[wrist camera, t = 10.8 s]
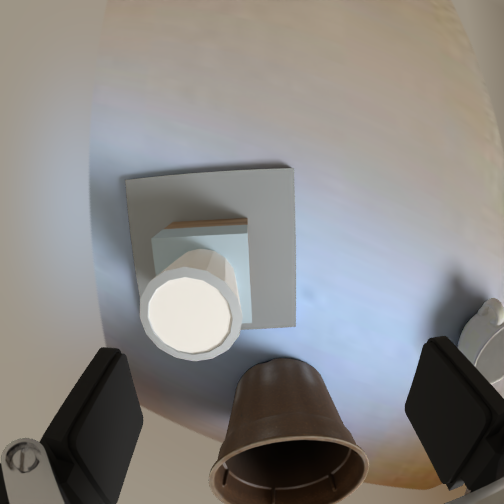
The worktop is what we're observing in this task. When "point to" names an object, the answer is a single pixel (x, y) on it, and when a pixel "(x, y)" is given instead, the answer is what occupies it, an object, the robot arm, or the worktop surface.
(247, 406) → the plant pot
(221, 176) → the plate
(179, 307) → the white rounded piece
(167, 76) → the worktop surface
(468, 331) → the teacup
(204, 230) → the brick
